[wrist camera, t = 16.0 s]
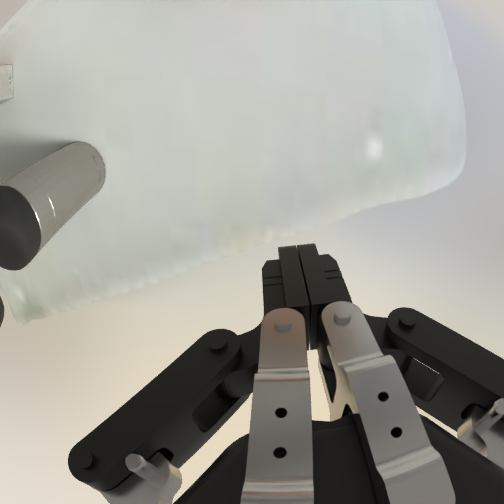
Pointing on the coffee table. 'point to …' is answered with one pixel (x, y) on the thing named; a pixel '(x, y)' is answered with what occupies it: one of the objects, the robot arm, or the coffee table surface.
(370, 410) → the robot arm
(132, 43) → the coffee table surface
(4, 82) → the small box
